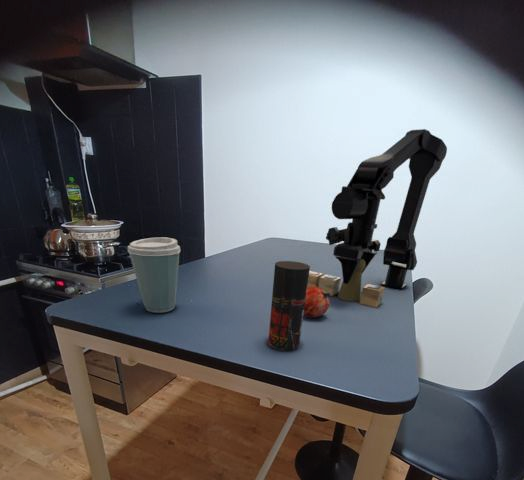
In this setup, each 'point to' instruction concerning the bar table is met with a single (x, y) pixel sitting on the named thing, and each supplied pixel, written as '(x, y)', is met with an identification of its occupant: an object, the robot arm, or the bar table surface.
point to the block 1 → (314, 278)
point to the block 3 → (372, 295)
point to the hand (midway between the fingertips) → (351, 280)
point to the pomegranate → (316, 302)
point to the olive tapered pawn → (353, 285)
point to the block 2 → (329, 284)
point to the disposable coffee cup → (156, 271)
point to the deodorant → (288, 304)
